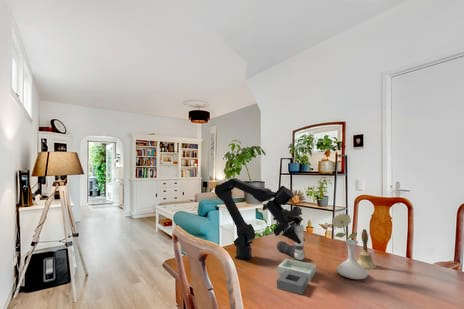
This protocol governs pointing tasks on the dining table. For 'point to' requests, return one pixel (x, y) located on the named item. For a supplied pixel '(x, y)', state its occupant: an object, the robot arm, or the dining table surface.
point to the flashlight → (287, 248)
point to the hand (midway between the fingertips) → (302, 242)
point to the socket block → (292, 282)
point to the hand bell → (365, 254)
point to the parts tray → (297, 268)
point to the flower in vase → (350, 265)
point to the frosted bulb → (300, 247)
